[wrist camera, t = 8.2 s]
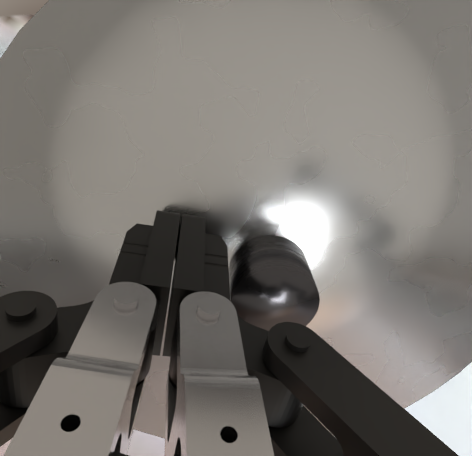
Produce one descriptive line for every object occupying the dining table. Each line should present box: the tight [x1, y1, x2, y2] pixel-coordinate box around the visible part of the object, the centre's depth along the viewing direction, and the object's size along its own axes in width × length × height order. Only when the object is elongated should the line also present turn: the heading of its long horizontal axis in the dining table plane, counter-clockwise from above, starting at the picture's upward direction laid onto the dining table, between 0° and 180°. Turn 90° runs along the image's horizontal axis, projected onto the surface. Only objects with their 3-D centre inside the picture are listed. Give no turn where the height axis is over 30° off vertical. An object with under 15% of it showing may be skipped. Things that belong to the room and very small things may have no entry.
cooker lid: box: [0, 0, 472, 438], centre depth 12 cm, size 23×19×3 cm
